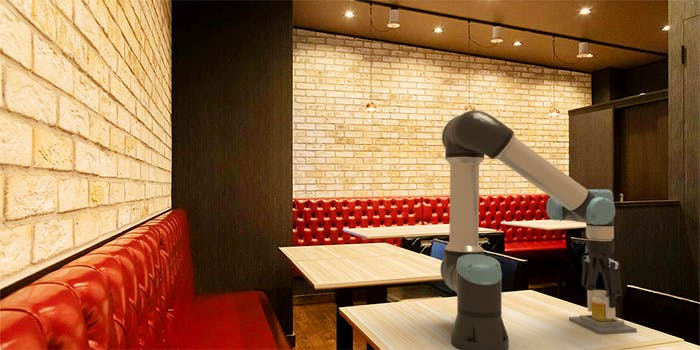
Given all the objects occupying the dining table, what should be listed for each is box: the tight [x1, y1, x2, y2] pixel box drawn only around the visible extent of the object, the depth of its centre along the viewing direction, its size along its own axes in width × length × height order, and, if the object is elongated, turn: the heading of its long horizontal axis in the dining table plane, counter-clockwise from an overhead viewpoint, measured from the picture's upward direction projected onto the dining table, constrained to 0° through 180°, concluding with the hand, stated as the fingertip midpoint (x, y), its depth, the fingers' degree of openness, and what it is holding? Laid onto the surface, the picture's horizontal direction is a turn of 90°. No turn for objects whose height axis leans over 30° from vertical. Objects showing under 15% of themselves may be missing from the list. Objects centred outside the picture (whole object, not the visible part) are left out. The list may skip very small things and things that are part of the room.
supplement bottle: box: [591, 289, 612, 323], centre depth 139 cm, size 5×5×10 cm
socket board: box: [568, 314, 638, 335], centre depth 139 cm, size 12×14×2 cm
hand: (601, 314), depth 139 cm, fingers open, 7 cm apart
